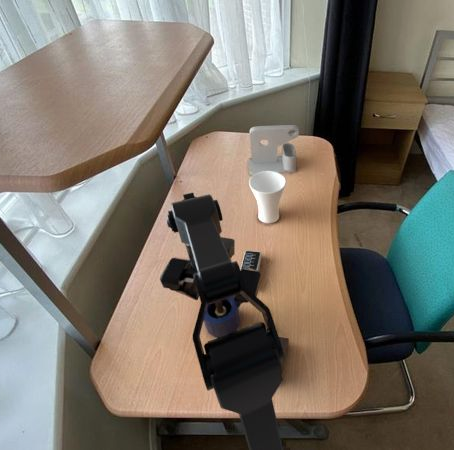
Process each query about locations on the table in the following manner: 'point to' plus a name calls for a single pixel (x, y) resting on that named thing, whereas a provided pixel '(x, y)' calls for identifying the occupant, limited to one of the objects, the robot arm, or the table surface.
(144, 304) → the table surface
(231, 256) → the robot arm
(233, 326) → the blue hollow cylinder
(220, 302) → the brush
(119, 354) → the table surface
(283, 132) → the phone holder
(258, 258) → the multiport hub
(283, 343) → the brush stand
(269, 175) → the cup
